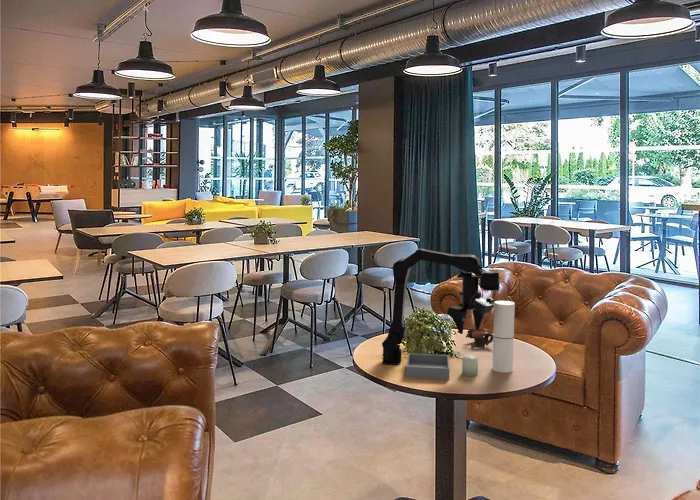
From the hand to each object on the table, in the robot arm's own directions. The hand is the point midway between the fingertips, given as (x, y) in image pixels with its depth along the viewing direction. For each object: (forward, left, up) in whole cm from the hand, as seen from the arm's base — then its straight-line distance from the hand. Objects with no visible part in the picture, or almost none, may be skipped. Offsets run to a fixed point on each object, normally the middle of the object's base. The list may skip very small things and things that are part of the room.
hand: (469, 331), depth 207 cm
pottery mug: (+6, +29, -14) cm, 33 cm away
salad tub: (0, -5, -14) cm, 15 cm away
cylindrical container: (+12, +1, -14) cm, 19 cm away
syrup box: (-9, +21, -14) cm, 27 cm away
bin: (-15, -5, -14) cm, 21 cm away
